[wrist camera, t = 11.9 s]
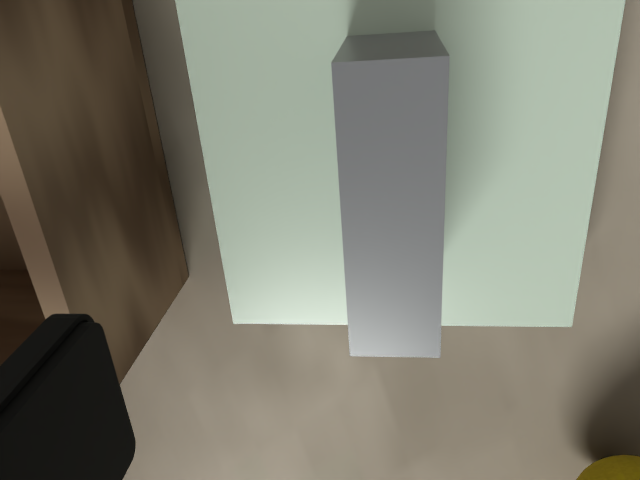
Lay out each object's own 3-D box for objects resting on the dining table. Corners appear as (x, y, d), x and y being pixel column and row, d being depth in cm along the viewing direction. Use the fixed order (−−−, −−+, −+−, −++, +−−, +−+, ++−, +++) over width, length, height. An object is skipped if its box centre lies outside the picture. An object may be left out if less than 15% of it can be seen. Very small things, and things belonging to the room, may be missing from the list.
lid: (554, 290, 21) (617, 422, 15) (248, 290, 23) (196, 408, 17) (604, -72, 16) (737, -90, 10) (195, -36, 18) (91, -32, 11)
